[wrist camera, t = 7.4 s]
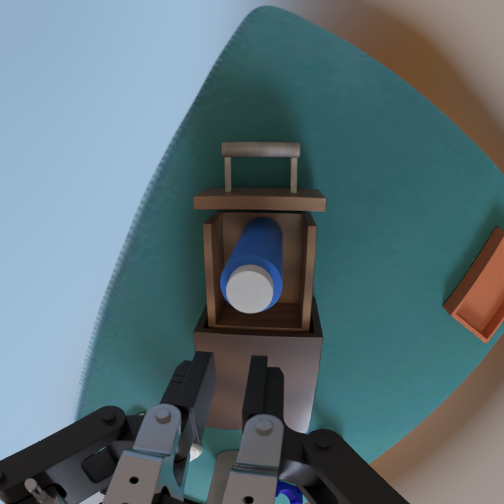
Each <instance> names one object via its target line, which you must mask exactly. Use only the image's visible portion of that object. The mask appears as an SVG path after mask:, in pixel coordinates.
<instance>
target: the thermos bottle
mask: <svg viewBox="0 0 504 504" xmlns="http://www.w3.org/2000/svg"><path fill="white" fill-rule="evenodd" d="M238 452H239V451H236V450H230V451H225V452H222V453H220V454H219V455H218V456H217V459H216V463H215V467H214V472H213V476H212V481H211V485H210V489H209V493H208V498H207V502H206V504H221V503H222V500H223V496H224V492H225V489H226V485H227V481H228V478H229V474H230V471H231V468H232V466H233V465H235V463H236V460H237V456H238Z"/></svg>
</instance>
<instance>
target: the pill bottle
mask: <svg viewBox="0 0 504 504" xmlns="http://www.w3.org/2000/svg"><path fill="white" fill-rule="evenodd" d="M220 287H221V291H222V293H223V296H224V297H225V299H226V300H227V301H228V302H229V303H230V304H231V305H232V306H233V307H234V308H235V309H237V310H239V311H241V312H244V313H257V312H261V311H264V310H266V309H268V308H270V307H271V306H273V305H274V304H275V303H276V302H277V300H278V299H279V297H280V295H281V292H282V287H283V234H282V230H281V228H280V226H279V225H278V223H277V222H275V221H274V220H273V219H271V218H268V217H257V218H254V219H252V220H251V221H249V222H248V223H247V224H246V226H245V228H244V230H243V232H242V234H241V236H240V238H239V240H238V242H237V244H236V246H235V248H234V250H233V252H232V254H231V256H230V258H229V260H228V262H227V264H226V266H225V268H224V270H223V272H222V274H221V279H220Z"/></svg>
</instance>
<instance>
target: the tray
mask: <svg viewBox="0 0 504 504" xmlns="http://www.w3.org/2000/svg"><path fill="white" fill-rule="evenodd" d="M443 308H444V309H445V310H446V311H447V312H448V313H449V314H450V315H451V316H452V317H453V318H455V319H456V320H457V321H458V322H460V323H461V324H462V325H463V326H465V327H466V328H467V329H468V330H470V331H471V332H472V333H474V334H475V335H476V336H477V337H478V338H480V339H481V340H482V341H483V342H485V343H487V342H488V340H489V339H490V338H491V337H492V336H493V334H494V333H495V332H496V330H497V329H498V328H499V326H500V325H501V324H502V322H503V321H504V231H503V230H501V229H499V228H497V227H496V228H495V229H494V231H493V233H492V234H491V236H490V238H489V240H488V241H487V243H486V244H485V246H484V248H483V249H482V251H481V252H480V254H479V256H478V257H477V259H476V260H475V262H474V263H473V265H472V266H471V268H470V269H469V271H468V272H467V274H466V275H465V277H464V278H463V280H462V281H461V282H460V284H459V285H458V287H457V288H456V289H455V291H454V292H453V294H452V295H451V296H450V298H449V299H448V300H447V302H446V303H445V304H444V306H443Z"/></svg>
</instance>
